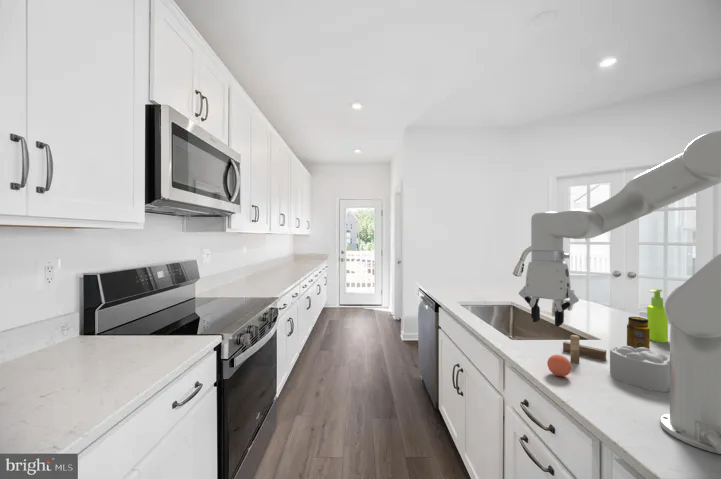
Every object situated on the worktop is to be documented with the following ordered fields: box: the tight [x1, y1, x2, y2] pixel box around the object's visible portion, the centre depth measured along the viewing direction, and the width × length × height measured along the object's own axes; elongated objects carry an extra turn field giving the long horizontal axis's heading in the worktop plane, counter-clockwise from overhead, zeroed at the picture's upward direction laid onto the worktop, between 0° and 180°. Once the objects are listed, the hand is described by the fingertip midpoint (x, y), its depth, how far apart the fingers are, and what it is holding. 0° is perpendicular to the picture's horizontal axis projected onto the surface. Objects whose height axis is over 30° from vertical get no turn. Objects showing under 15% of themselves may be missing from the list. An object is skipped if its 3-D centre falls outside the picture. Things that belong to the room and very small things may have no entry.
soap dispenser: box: [646, 288, 669, 343], centre depth 123 cm, size 6×7×20 cm
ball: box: [546, 354, 572, 377], centre depth 92 cm, size 6×6×6 cm
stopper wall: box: [562, 341, 607, 361], centre depth 108 cm, size 2×12×3 cm, turn 41°
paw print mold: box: [609, 345, 670, 393], centre depth 89 cm, size 10×13×9 cm
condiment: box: [626, 316, 651, 350], centre depth 110 cm, size 7×8×12 cm
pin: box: [569, 334, 580, 365], centre depth 102 cm, size 2×2×8 cm
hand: (547, 322), depth 86 cm, fingers open, 4 cm apart
